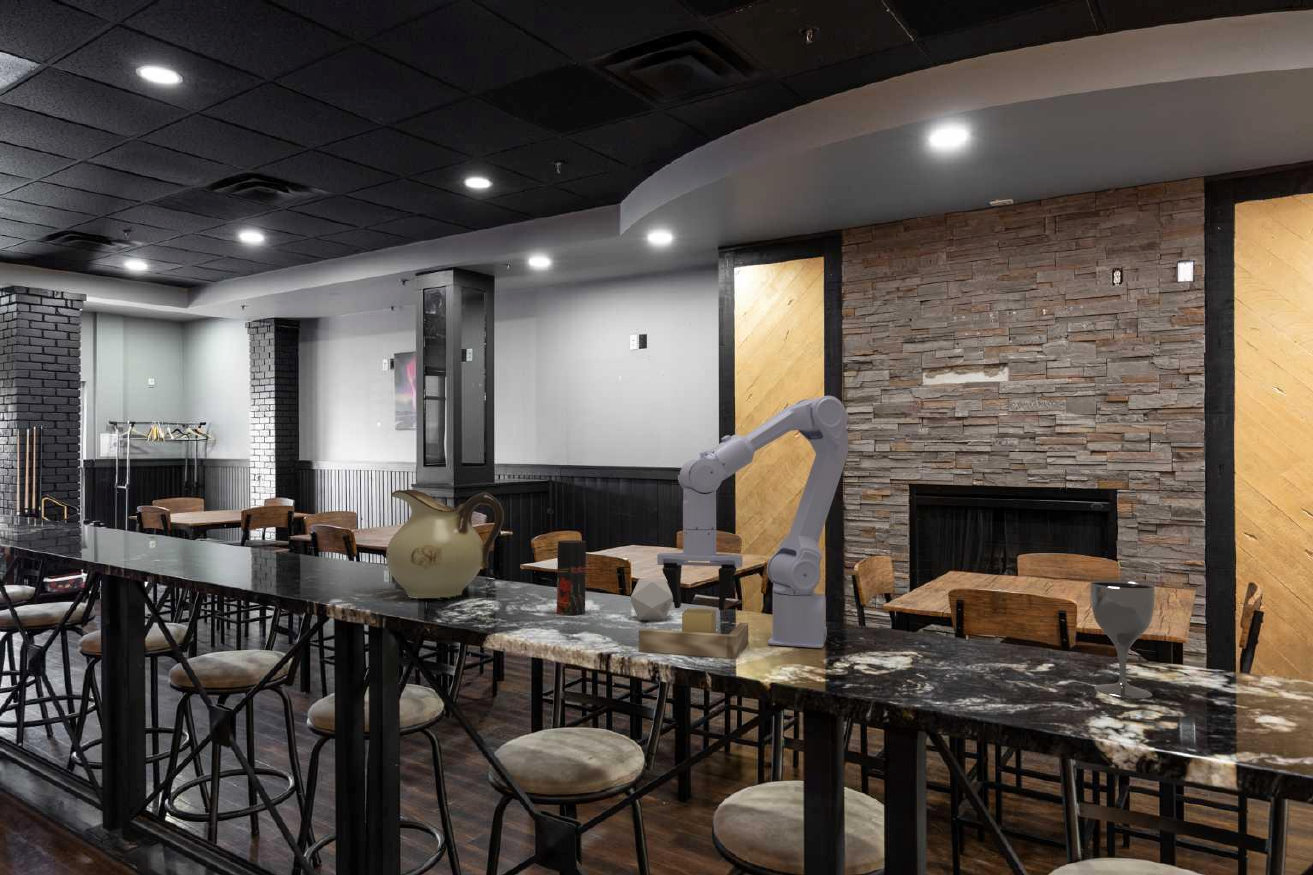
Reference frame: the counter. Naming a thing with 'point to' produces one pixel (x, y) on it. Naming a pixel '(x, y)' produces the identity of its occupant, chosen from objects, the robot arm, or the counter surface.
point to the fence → (695, 642)
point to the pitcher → (439, 545)
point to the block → (699, 620)
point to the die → (651, 599)
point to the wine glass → (1122, 624)
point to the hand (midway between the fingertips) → (699, 608)
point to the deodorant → (571, 577)
